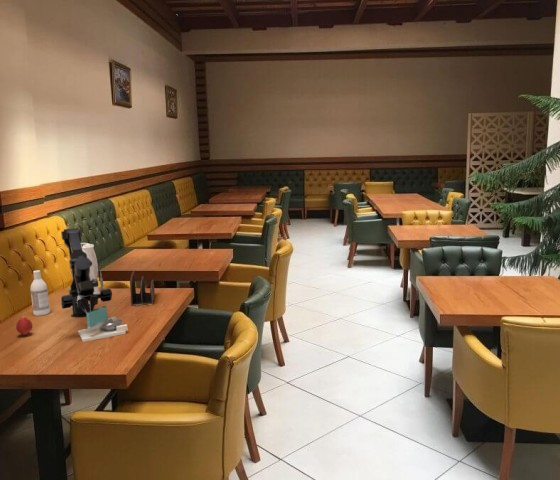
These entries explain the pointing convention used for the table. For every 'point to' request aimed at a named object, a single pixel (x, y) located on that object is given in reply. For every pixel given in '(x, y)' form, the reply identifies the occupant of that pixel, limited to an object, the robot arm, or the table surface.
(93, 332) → the plate
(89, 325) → the cam foot
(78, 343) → the table surface
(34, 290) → the bath foam
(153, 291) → the letter holder
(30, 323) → the onion
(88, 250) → the skyscraper
